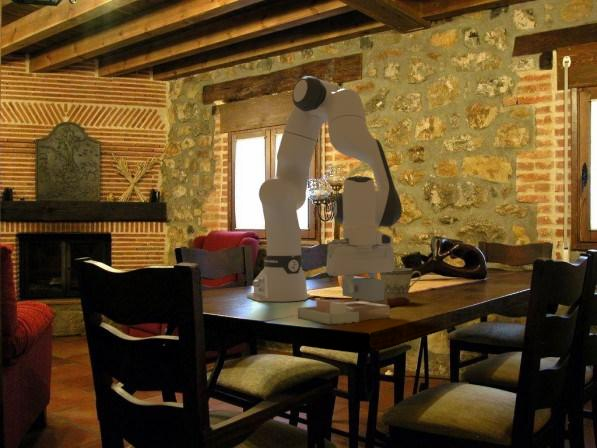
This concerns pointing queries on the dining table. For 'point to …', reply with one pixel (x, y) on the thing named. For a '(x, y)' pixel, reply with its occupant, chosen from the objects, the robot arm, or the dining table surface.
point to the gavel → (388, 301)
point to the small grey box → (365, 289)
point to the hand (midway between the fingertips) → (361, 291)
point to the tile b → (337, 308)
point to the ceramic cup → (397, 282)
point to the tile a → (323, 306)
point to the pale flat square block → (368, 310)
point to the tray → (327, 316)
